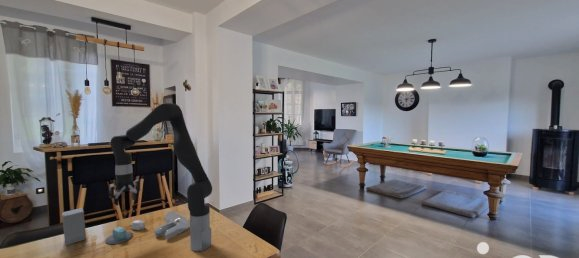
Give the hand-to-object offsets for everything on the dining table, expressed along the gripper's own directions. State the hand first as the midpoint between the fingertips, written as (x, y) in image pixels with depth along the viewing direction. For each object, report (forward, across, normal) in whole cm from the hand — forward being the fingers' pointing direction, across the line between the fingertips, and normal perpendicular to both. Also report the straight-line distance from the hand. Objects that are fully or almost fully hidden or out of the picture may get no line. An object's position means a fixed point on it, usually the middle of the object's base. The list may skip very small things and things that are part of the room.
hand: (125, 202), depth 128 cm
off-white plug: (+19, +8, +5) cm, 21 cm away
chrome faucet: (+20, +16, -13) cm, 28 cm away
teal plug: (+18, -3, +2) cm, 19 cm away
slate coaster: (+19, -3, +2) cm, 19 cm away
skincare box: (+19, -16, +19) cm, 31 cm away
